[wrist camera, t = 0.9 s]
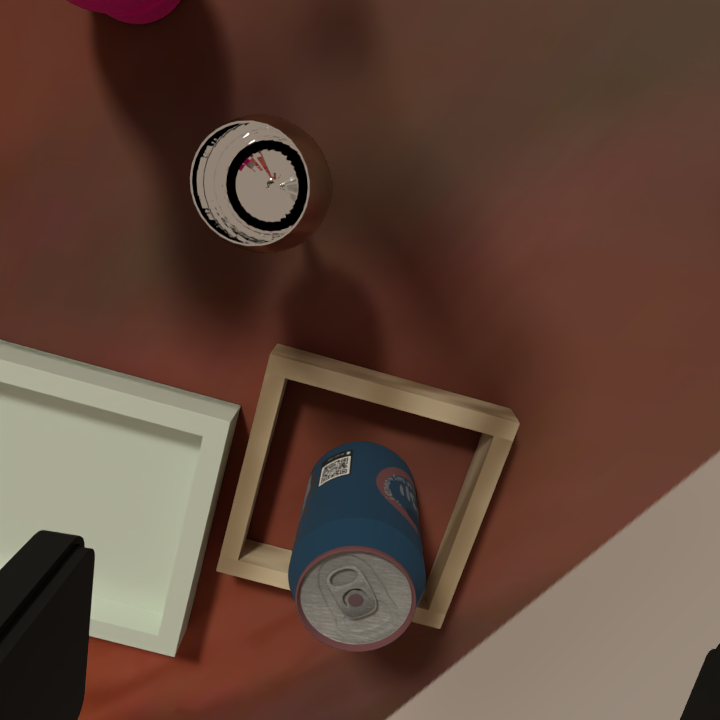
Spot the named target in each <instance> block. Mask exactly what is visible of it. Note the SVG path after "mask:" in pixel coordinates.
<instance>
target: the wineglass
mask: <svg viewBox="0 0 720 720" xmlns="http://www.w3.org/2000/svg"><path fill="white" fill-rule="evenodd" d="M190 188H191V194H192V197H193V201H194V204H195V206H196V208H197V211H198V213H199V215H200V216H201V218H202V219H203V220H204V222H205V223H206V225H207V226H208V227H209V228H210V229H211V230H212V231H213V232H214V233H215V234H216V235H217V236H219V237H220V238H221V239H223V240H224V241H226V242H227V243H229V244H231V245H233V246H235V247H238V248H240V249H243V250H246V251H250V252H255V253H278V252H282V251H286V250H289V249H291V248H294V247H296V246H298V245H300V244H301V243H303V242H304V241H306V240H307V239H308V238H309V237H311V236H312V235H313V234H314V233H315V231H316V230H317V229H318V228H319V226H320V225H321V223H322V222H323V220H324V218H325V216H326V214H327V211H328V208H329V205H330V200H331V193H332V182H331V174H330V169H329V166H328V163H327V160H326V158H325V156H324V154H323V152H322V150H321V149H320V147H319V146H318V144H317V143H316V142H315V140H314V139H313V138H312V137H311V136H310V135H309V134H308V133H306V132H305V131H304V130H303V129H302V128H301V127H299V126H297V125H296V124H294V123H292V122H290V121H288V120H285V119H283V118H280V117H275V116H270V115H265V114H254V115H246V116H242V117H237V118H235V119H232V120H229V121H228V122H226V123H224V124H222V125H221V126H219V127H218V128H217V129H216V130H214V131H213V132H212V133H211V134H210V135H209V136H208V137H207V138H206V139H205V140H204V141H203V142H202V144H201V145H200V147H199V148H198V150H197V152H196V154H195V157H194V160H193V162H192V166H191V173H190Z"/></svg>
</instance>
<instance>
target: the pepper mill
mask: <svg viewBox="0 0 720 720" xmlns="http://www.w3.org/2000/svg"><path fill="white" fill-rule="evenodd" d="M67 1H69V2H70V3H72V4H74V5H76V6H79V7H81V8H83V9H87V10H90V11H94V12H99V13H106V14H107V15H109V16H110V17H112V18H114V19H116V20H118V21H122V22H125V23H130V24H147V23H151V22H154V21H157V20H159V19H161V18H163V17H165V16H166V15H167V14H169V13H170V12H171V11H172V10H173V9H174V8H175V7H176V6H177V5H178V3H179V2H180V1H181V0H67Z"/></svg>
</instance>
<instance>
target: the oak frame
mask: <svg viewBox="0 0 720 720" xmlns="http://www.w3.org/2000/svg"><path fill="white" fill-rule="evenodd" d="M288 379H290V380H294V381H297V382H301V383H305V384H308V385H312V386H315V387H319V388H323V389H326V390H330V391H334V392H337V393H341V394H344V395H348V396H352V397H355V398H359V399H362V400H366V401H370V402H373V403H377V404H380V405H384V406H388V407H391V408H395V409H398V410H402V411H406V412H409V413H413V414H417V415H420V416H424V417H427V418H431V419H435V420H438V421H442V422H445V423H449V424H453V425H456V426H460V427H463V428H467V429H471V430H474V431H478V432H481V433H482V434H481V437H480V440H479V442H478V445H477V448H476V451H475V453H474V456H473V459H472V461H471V464H470V467H469V469H468V472H467V475H466V478H465V480H464V483H463V486H462V488H461V491H460V494H459V496H458V499H457V502H456V505H455V507H454V510H453V513H452V515H451V518H450V521H449V523H448V526H447V529H446V532H445V534H444V537H443V540H442V542H441V545H440V548H439V550H438V553H437V556H436V559H435V561H434V564H433V567H432V569H431V572H430V575H429V577H428V580H427V583H426V586H425V590H424V594H423V596H422V599H421V601H420V603H419V605H418V606H417V608H416V610H415V614H414V617H413V619H412V621H411V622H414V623H418V624H422V625H426V626H430V627H434V628H438V629H440V628H441V626H442V623H443V620H444V618H445V615H446V613H447V610H448V608H449V605H450V602H451V600H452V597H453V595H454V592H455V590H456V587H457V584H458V582H459V579H460V577H461V574H462V571H463V569H464V566H465V564H466V561H467V559H468V556H469V553H470V551H471V548H472V546H473V543H474V541H475V538H476V535H477V533H478V530H479V528H480V525H481V523H482V520H483V517H484V515H485V512H486V510H487V507H488V505H489V502H490V499H491V497H492V494H493V492H494V489H495V487H496V484H497V481H498V479H499V476H500V474H501V471H502V469H503V466H504V463H505V461H506V458H507V456H508V453H509V450H510V448H511V445H512V443H513V440H514V438H515V435H516V432H517V430H518V427H519V425H520V423H519V421H518V420H517V418H516V416H515V415H514V413H513V412H512V410H511V409H510V408H506V407H503V406H499V405H496V404H492V403H489V402H485V401H481V400H478V399H474V398H471V397H467V396H464V395H460V394H456V393H453V392H449V391H446V390H442V389H439V388H435V387H431V386H428V385H424V384H421V383H417V382H414V381H410V380H406V379H403V378H399V377H396V376H392V375H389V374H385V373H381V372H378V371H374V370H371V369H367V368H364V367H360V366H356V365H353V364H349V363H346V362H342V361H339V360H335V359H331V358H328V357H324V356H321V355H317V354H314V353H310V352H306V351H303V350H299V349H296V348H292V347H289V346H285V345H281V344H278V343H277V345H276V346H275V348H274V349H273V351H272V352H271V354H270V357H269V361H268V365H267V369H266V373H265V377H264V381H263V385H262V389H261V393H260V397H259V401H258V405H257V409H256V413H255V417H254V421H253V425H252V429H251V433H250V437H249V441H248V445H247V449H246V453H245V457H244V461H243V465H242V469H241V473H240V477H239V481H238V485H237V489H236V493H235V497H234V501H233V505H232V509H231V513H230V517H229V521H228V525H227V529H226V533H225V537H224V541H223V545H222V549H221V553H220V557H219V561H218V565H217V569H216V571H217V572H221V573H225V574H229V575H233V576H237V577H241V578H244V579H248V580H252V581H256V582H260V583H264V584H268V585H272V586H275V587H279V588H283V589H287V590H290V587H289V582H288V569H289V563H290V559H291V555H292V551H291V550H287V549H283V548H279V547H276V546H272V545H268V544H264V543H260V542H256V541H253V540H249V539H246V537H247V533H248V530H249V526H250V522H251V518H252V514H253V510H254V507H255V503H256V499H257V495H258V491H259V487H260V484H261V480H262V476H263V472H264V468H265V465H266V461H267V457H268V453H269V449H270V445H271V442H272V438H273V434H274V430H275V426H276V423H277V419H278V415H279V411H280V407H281V403H282V400H283V396H284V392H285V388H286V384H287V380H288Z"/></svg>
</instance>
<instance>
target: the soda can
mask: <svg viewBox="0 0 720 720" xmlns="http://www.w3.org/2000/svg"><path fill="white" fill-rule="evenodd" d="M288 582H289V587H290V591H291V594H292V597H293V599H294V601H295V603H296V609H297V613H298V616H299V618H300V620H301V622H302V623H303V625H304V626H305V628H306V629H307V630H308V631H309V633H311V634H312V635H313V636H314V637H315V638H316V639H318V640H319V641H321V642H322V643H324V644H326V645H328V646H330V647H333V648H336V649H339V650H344V651H351V652H364V651H371V650H375V649H378V648H381V647H384V646H386V645H388V644H390V643H391V642H393V641H395V640H396V639H397V638H398V637H400V636H401V635H402V634H403V633H404V632H405V630H406V629H407V628H408V626H409V625H410V623H411V621H412V619H413V617H414V614H415V610H416V608H417V606H418V605H419V603H420V601H421V599H422V596H423V594H424V590H425V585H426V571H425V563H424V555H423V547H422V539H421V531H420V523H419V515H418V507H417V499H416V491H415V484H414V479H413V476H412V474H411V471H410V470H409V468H408V466H407V465H406V463H405V462H404V461H403V460H402V459H401V458H400V457H399V456H398V455H397V454H396V453H394V452H393V451H391V450H390V449H388V448H386V447H384V446H381V445H378V444H375V443H370V442H352V443H347V444H343V445H340V446H338V447H336V448H334V449H332V450H330V451H329V452H328V453H326V454H325V455H324V456H323V457H322V458H321V459H320V460H319V461H318V462H317V464H316V465H315V467H314V468H313V470H312V472H311V475H310V478H309V482H308V486H307V491H306V495H305V499H304V503H303V508H302V512H301V516H300V521H299V525H298V529H297V533H296V538H295V542H294V546H293V550H292V555H291V559H290V563H289V569H288Z"/></svg>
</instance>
